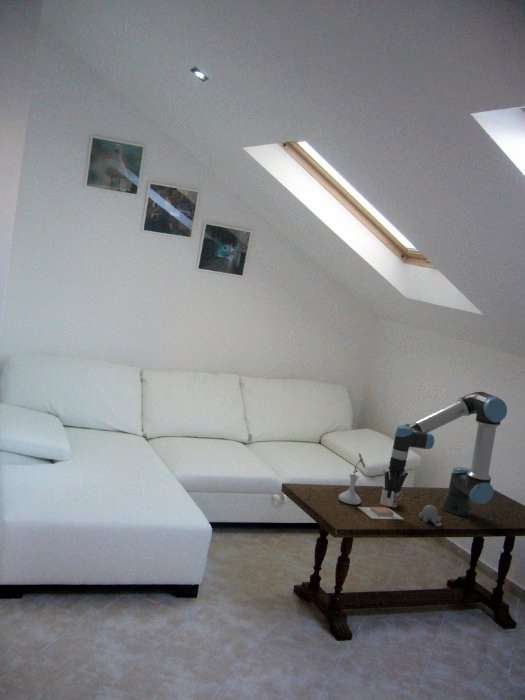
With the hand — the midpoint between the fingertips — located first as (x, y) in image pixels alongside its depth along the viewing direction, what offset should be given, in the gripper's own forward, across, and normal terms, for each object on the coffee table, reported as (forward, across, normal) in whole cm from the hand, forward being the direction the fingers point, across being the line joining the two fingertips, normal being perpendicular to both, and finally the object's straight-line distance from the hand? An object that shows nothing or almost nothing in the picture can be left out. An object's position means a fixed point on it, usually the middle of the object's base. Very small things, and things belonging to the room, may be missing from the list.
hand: (389, 504), depth 335 cm
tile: (+4, -1, 0) cm, 4 cm away
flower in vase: (+5, +13, -15) cm, 21 cm away
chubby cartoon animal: (+5, -18, +10) cm, 21 cm away
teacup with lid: (+5, -10, -13) cm, 17 cm away
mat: (+5, +4, 0) cm, 6 cm away
